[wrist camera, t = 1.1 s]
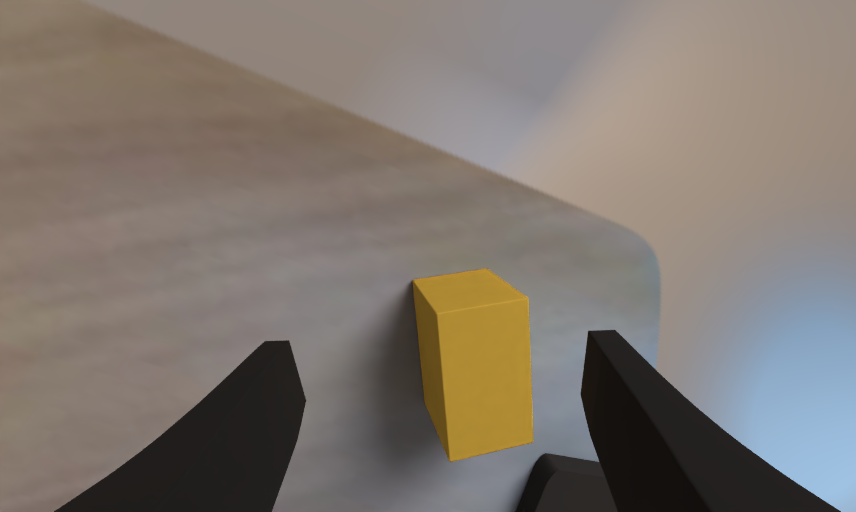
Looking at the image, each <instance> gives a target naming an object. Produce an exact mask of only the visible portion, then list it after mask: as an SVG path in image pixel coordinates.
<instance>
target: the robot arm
mask: <svg viewBox="0 0 856 512" xmlns="http://www.w3.org/2000/svg"><path fill="white" fill-rule="evenodd" d="M581 398H582V402H583V407H584V411H585V416H586V420H587V424H588V428H589V432H590V436H591V439H592V442H593V445H594V447H595V450H596V453H597V456H598V459H599V461H600V464H601V467H602V470H603V472H604V475H605V478H606V481H607V483H608V486H609V489H610V492H611V494H612V497H613V500H614V503H615V505H616V508H617V511H618V512H841V511H839V510H838V509H836V508H834V507H833V506H831V505H830V504H828V503H826V502H825V501H823V500H822V499H820V498H819V497H817V496H816V495H814V494H813V493H811V492H809V491H808V490H807V489H805V488H803V487H802V486H800V485H798V484H797V483H796V482H794V481H793V480H791V479H790V478H788V477H787V476H786V475H784V474H782V473H781V472H780V471H778V470H777V469H775V468H774V467H773V466H771V465H770V464H768V463H767V462H766V461H764V460H763V459H762V458H760V457H759V456H757V455H756V454H755V453H753V452H752V451H751V450H749V449H748V448H746V447H745V446H744V445H742V444H741V443H740V442H738V441H737V440H736V439H734V438H733V437H732V436H731V435H729V434H728V433H727V432H726V431H724V430H723V429H722V428H721V427H719V426H718V425H717V424H716V423H715V422H713V421H712V420H711V419H710V418H709V417H707V416H706V415H705V414H704V413H703V412H701V411H700V410H699V409H698V408H696V406H694V405H693V404H692V403H691V402H690V401H689V400H688V399H686V398H685V397H684V396H683V395H682V394H681V393H680V392H679V391H678V390H677V389H676V388H674V387H673V386H672V385H671V384H670V383H669V382H668V381H667V380H666V379H665V378H663V377H662V375H660V374H659V373H658V372H657V371H656V370H655V369H654V368H653V367H652V366H651V365H650V364H649V363H648V362H647V361H646V360H645V359H644V358H643V357H642V356H641V355H640V354H639V353H638V352H637V351H636V350H635V349H634V348H633V347H632V346H631V345H630V344H629V343H628V342H627V341H626V340H625V339H624V338H623V337H622V336H621V335H620V334H619V333H618V332H616V331H615V330H602V331H588V338H587V346H586V354H585V363H584V371H583V379H582V388H581ZM305 403H306V399H305V395H304V392H303V388H302V385H301V381H300V377H299V374H298V370H297V367H296V363H295V360H294V356H293V353H292V349H291V346H290V342H289V341H265V342H264V343H263V344H261V345H260V346H259V347H258V348H257V349H256V350H255V351H254V352H253V353H252V354H251V355H250V356H248V357H247V358H246V359H245V360H244V361H243V362H242V363H241V364H240V365H239V366H238V367H237V368H236V369H235V370H234V371H233V372H232V373H231V374H230V375H229V376H227V377H226V378H225V379H224V380H223V381H222V382H221V383H220V384H219V385H218V386H217V387H216V388H215V389H213V390H212V391H211V392H210V393H209V394H208V395H207V396H206V397H205V398H204V399H203V400H202V401H201V402H199V403H198V404H197V405H196V406H195V407H194V408H192V409H191V410H190V411H189V412H188V413H187V414H185V415H184V416H183V417H182V418H181V419H180V420H178V421H177V422H176V423H175V424H174V425H173V426H172V427H170V428H169V429H168V430H167V431H166V432H165V433H163V434H162V435H161V436H160V437H158V438H157V439H156V440H155V441H154V442H152V443H151V444H150V445H148V446H147V447H146V448H145V449H143V450H142V451H141V452H139V453H138V454H137V455H135V456H134V457H133V458H131V459H130V460H129V461H127V462H126V463H125V464H123V465H122V466H121V467H119V468H118V469H117V470H115V471H114V472H112V473H111V474H110V475H108V476H107V477H105V478H104V479H103V480H101V481H100V482H98V483H97V484H95V485H94V486H92V487H90V488H89V489H87V490H86V491H84V492H83V493H81V494H80V495H78V496H77V497H75V498H74V499H72V500H71V501H69V502H68V503H66V504H65V505H63V506H62V507H60V508H59V509H57V510H56V511H54V512H272V509H273V506H274V504H275V501H276V498H277V495H278V493H279V490H280V487H281V484H282V482H283V479H284V476H285V473H286V471H287V468H288V465H289V462H290V459H291V456H292V454H293V451H294V448H295V445H296V442H297V439H298V435H299V430H300V426H301V422H302V417H303V412H304V408H305Z"/></svg>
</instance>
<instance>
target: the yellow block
mask: <svg viewBox="0 0 856 512" xmlns="http://www.w3.org/2000/svg"><path fill="white" fill-rule="evenodd" d="M412 282H413V292H414V302H415V312H416V322H417V332H418V341H419V351H420V361H421V371H422V381H423V391H424V401H425V405H426V407H427V409H428V412H429V414H430V417H431V419H432V421H433V424H434V426H435V428H436V431H437V433H438V436H439V438H440V440H441V443H442V445H443V448H444V450H445V452H446V455H447V457H448V459H449V461H450V462H452V461H457V460H461V459H465V458H469V457H474V456H478V455H482V454H486V453H491V452H495V451H499V450H503V449H508V448H512V447H516V446H520V445H524V444H529V443H533V414H532V386H531V358H530V330H529V301H528V298H527V297H526V296H525V295H523V294H522V293H520V292H519V291H518V290H516V289H515V288H514V287H512V286H511V285H509V284H508V283H507V282H505V281H504V280H502V279H501V278H500V277H498V276H497V275H496V274H494V273H493V272H491V271H490V270H489V269H480V270H474V271H467V272H460V273H454V274H447V275H441V276H434V277H428V278H421V279H415V280H413V281H412Z"/></svg>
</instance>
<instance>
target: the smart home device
mask: <svg viewBox="0 0 856 512" xmlns="http://www.w3.org/2000/svg"><path fill="white" fill-rule="evenodd" d="M516 512H618V511H617V508H616V505H615V503H614V500H613V497H612V494H611V492H610V489H609V486H608V483H607V481H606V478H605V475H604V472H603V470H602V467H601V464H600V462H595V461H589V460H583V459H577V458H571V457H565V456H559V455H553V454H544V455H543V456H541V457H540V459H539V460H538V461H537V463H536V465H535V467H534V469H533V471H532V473H531V476H530V478H529V481H528V483H527V486H526V489H525V491H524V494H523V496H522V499H521V501H520V504H519V506H518V509H517V511H516Z"/></svg>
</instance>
